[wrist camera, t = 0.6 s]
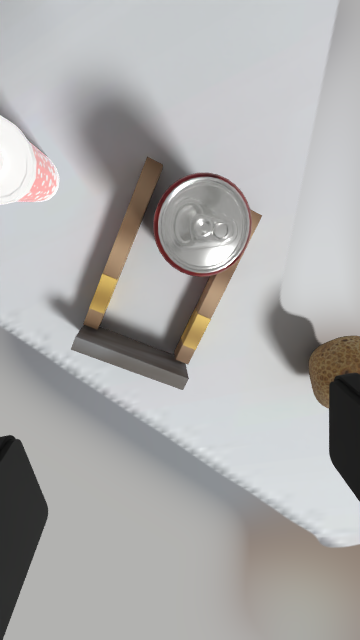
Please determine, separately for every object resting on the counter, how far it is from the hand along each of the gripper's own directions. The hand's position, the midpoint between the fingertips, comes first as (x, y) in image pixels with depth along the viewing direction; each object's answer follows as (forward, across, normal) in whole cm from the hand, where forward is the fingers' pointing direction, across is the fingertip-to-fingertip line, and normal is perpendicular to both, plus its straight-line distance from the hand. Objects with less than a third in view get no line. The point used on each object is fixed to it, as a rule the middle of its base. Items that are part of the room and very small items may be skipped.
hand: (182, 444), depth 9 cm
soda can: (+27, -4, -5) cm, 28 cm away
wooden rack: (+27, -1, -1) cm, 27 cm away
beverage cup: (+27, +11, -12) cm, 32 cm away
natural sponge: (+27, -19, +13) cm, 35 cm away
